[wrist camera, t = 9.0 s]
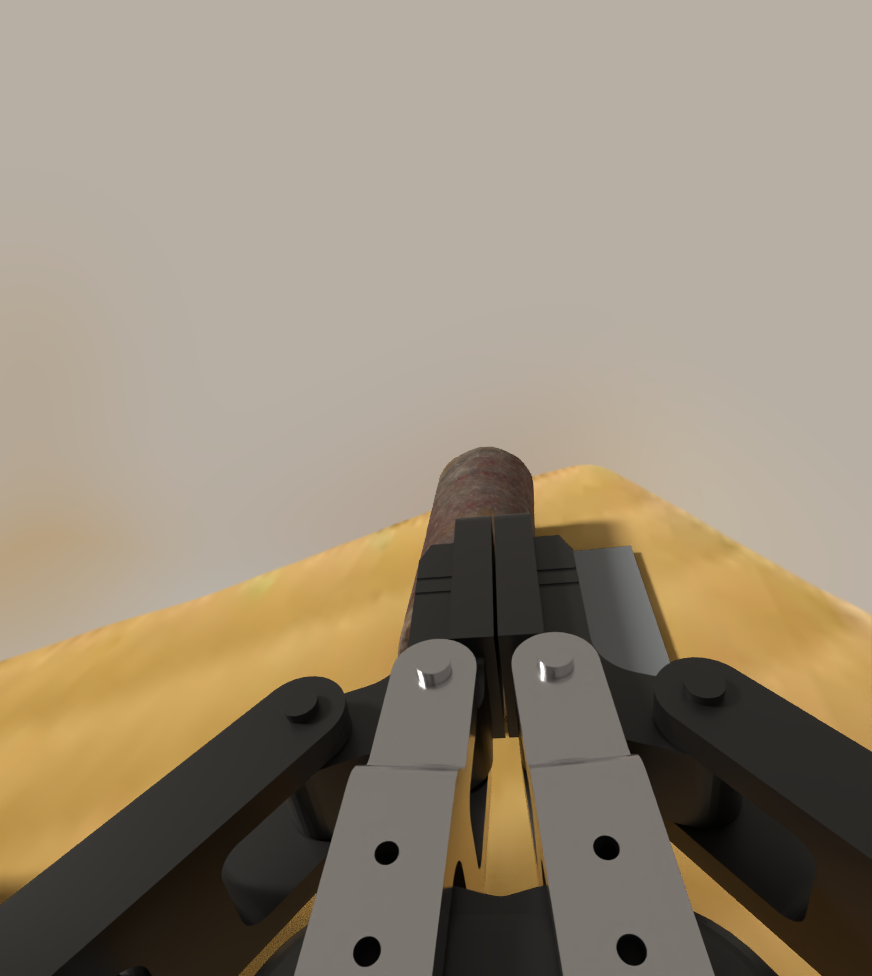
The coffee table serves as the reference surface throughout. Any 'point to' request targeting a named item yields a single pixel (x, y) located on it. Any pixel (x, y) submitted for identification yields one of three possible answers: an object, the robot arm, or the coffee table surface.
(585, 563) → the mat
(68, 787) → the coffee table surface
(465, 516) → the reddish brown cylinder
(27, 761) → the coffee table surface
